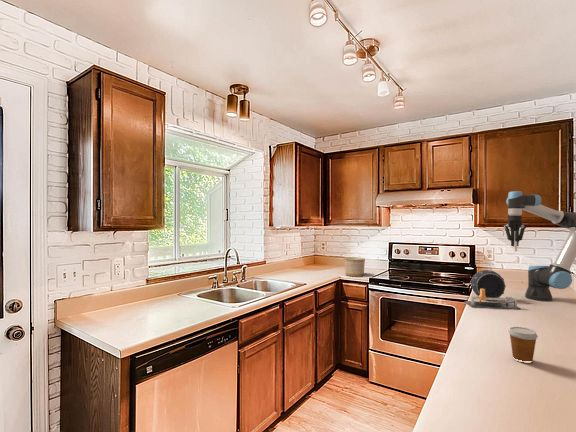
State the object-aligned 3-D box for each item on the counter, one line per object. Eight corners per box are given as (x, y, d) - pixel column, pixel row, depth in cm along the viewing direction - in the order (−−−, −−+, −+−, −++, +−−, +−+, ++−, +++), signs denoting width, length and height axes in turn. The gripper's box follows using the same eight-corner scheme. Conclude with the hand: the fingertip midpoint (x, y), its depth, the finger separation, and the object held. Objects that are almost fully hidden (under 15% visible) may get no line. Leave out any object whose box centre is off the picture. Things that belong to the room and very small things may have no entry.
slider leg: (482, 303, 214) (482, 287, 214) (486, 305, 208) (486, 289, 208) (477, 303, 214) (477, 287, 214) (481, 305, 209) (481, 289, 209)
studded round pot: (507, 302, 222) (507, 272, 222) (474, 300, 226) (474, 271, 226) (500, 298, 233) (500, 269, 233) (469, 296, 237) (469, 268, 237)
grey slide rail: (513, 306, 211) (513, 296, 211) (517, 308, 206) (517, 298, 206) (469, 304, 215) (469, 294, 215) (472, 307, 210) (472, 296, 210)
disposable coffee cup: (502, 355, 137) (502, 326, 137) (524, 355, 138) (524, 326, 138) (520, 366, 128) (520, 334, 128) (543, 365, 128) (544, 334, 128)
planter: (352, 272, 332) (352, 256, 332) (368, 275, 318) (368, 258, 318) (340, 275, 319) (340, 258, 319) (356, 278, 305) (356, 260, 305)
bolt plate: (510, 304, 217) (510, 302, 217) (520, 309, 205) (520, 307, 205) (464, 302, 221) (464, 300, 221) (471, 307, 209) (471, 305, 209)
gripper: (522, 215, 220) (522, 250, 220) (501, 215, 222) (501, 250, 222) (529, 215, 213) (528, 252, 213) (506, 215, 215) (506, 251, 215)
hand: (514, 251), depth 217 cm, fingers closed
